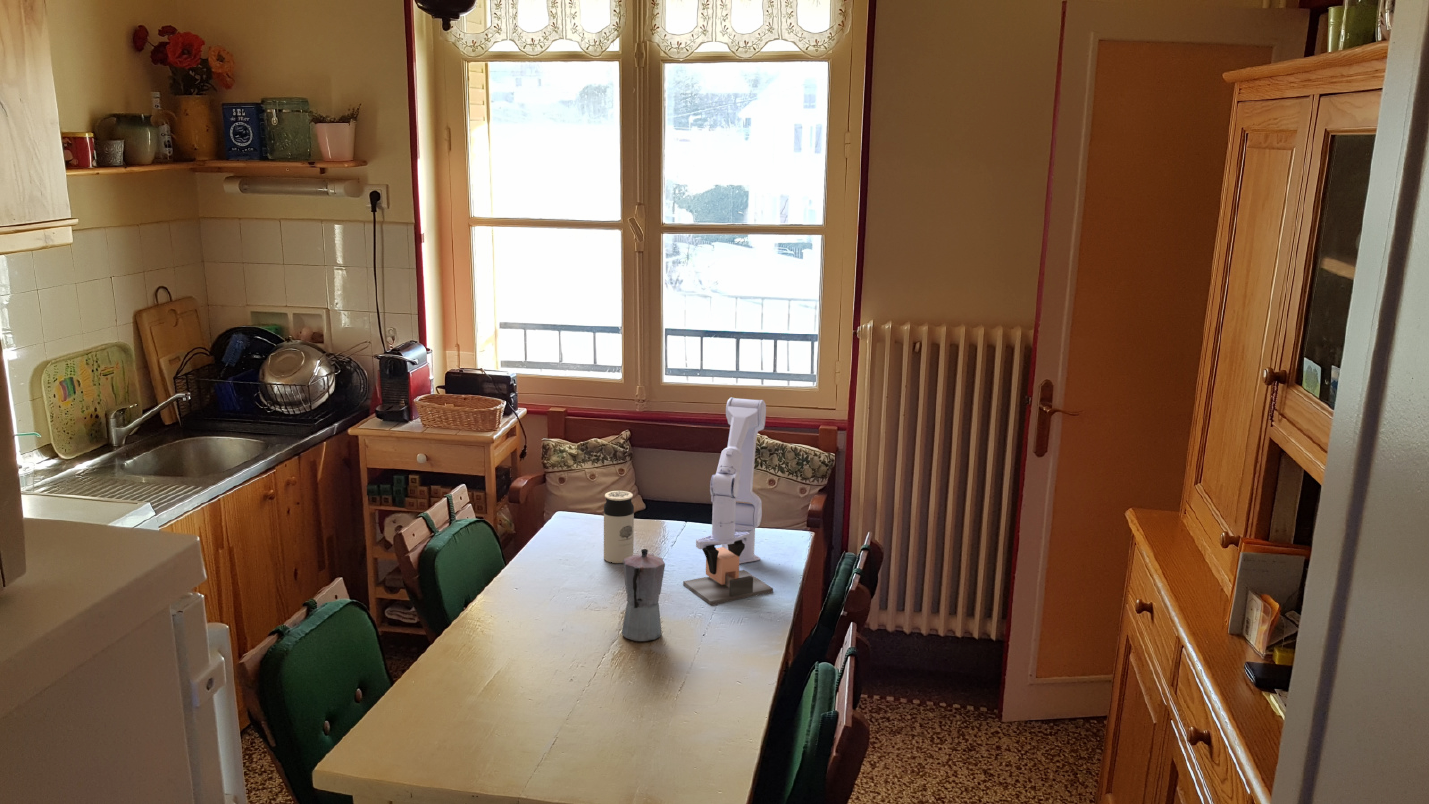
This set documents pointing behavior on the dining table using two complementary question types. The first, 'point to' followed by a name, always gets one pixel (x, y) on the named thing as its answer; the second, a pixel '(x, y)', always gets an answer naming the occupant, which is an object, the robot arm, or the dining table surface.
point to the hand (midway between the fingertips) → (722, 571)
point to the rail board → (727, 588)
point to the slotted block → (724, 566)
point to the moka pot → (643, 596)
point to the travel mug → (618, 526)
